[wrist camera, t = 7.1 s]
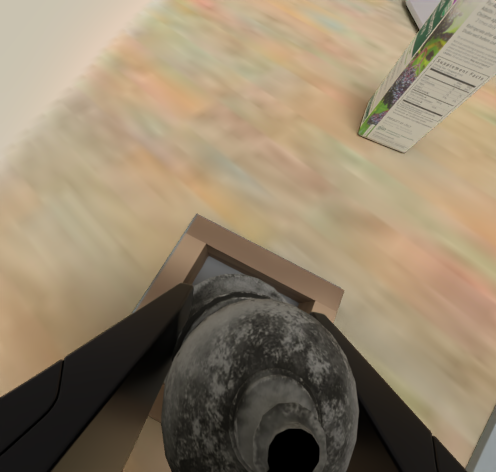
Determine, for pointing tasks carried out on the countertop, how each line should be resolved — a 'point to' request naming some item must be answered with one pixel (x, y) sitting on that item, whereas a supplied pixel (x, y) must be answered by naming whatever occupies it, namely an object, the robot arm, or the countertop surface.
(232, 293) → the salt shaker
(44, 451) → the robot arm
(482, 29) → the syrup box
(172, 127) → the countertop surface
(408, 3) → the soap bottle
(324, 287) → the holder
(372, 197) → the countertop surface
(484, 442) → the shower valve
